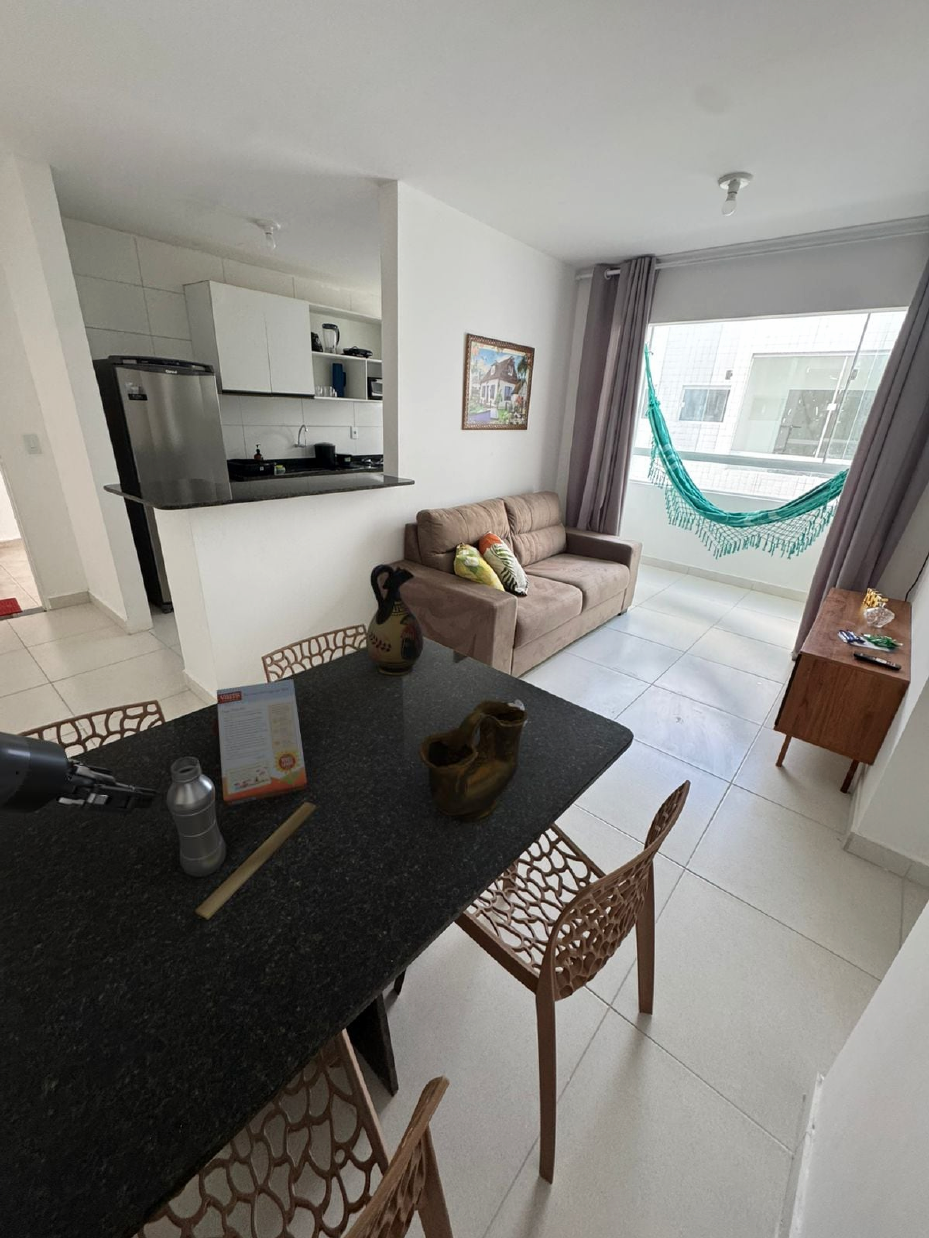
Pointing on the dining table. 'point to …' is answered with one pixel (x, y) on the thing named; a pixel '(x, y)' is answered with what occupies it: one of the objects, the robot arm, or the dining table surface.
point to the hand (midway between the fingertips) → (128, 788)
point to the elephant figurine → (518, 704)
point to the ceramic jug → (393, 625)
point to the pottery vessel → (474, 760)
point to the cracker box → (260, 741)
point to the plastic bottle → (195, 818)
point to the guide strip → (254, 862)
